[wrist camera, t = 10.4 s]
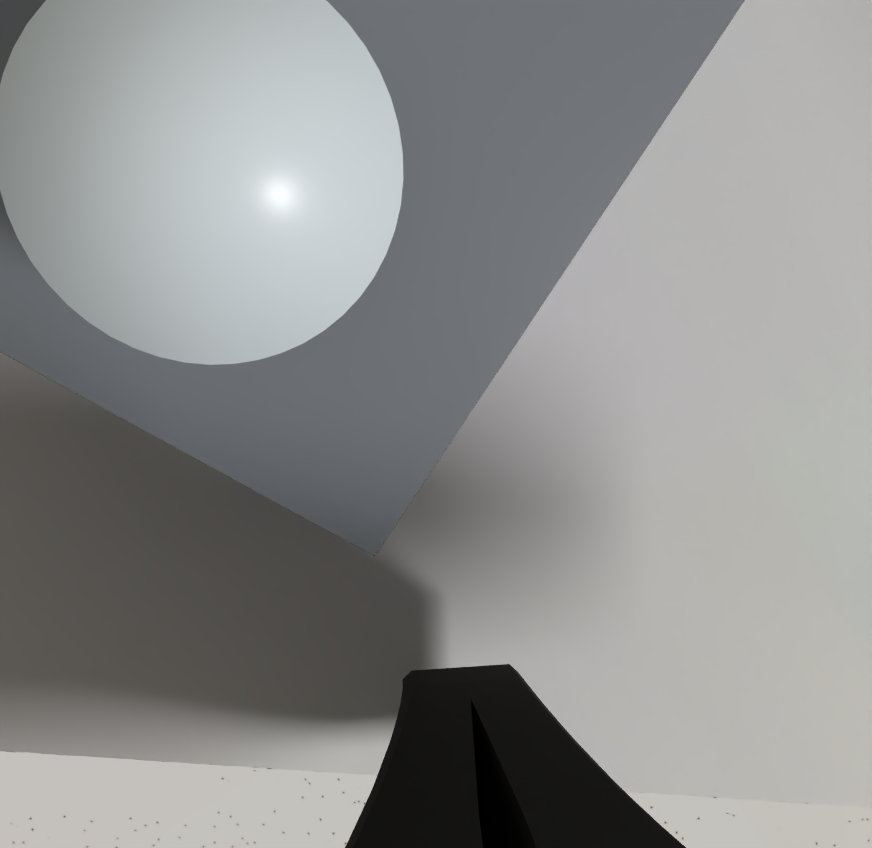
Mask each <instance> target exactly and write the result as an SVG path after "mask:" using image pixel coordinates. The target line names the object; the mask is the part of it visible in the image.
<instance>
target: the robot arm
mask: <svg viewBox="0 0 872 848" xmlns="http://www.w3.org/2000/svg"><path fill="white" fill-rule="evenodd" d="M345 848H686V847H685V846H684V845H682V844H681V843H680V842H679V841H678V840H677V839H675V838H674V837H673V836H672V835H671V834H670V833H669V832H668V831H666V830H665V829H664V828H663V827H662V826H661V825H660V824H659V823H657V822H656V821H655V820H654V819H653V818H652V817H651V816H650V815H649V814H648V813H647V812H646V811H645V810H644V809H642V808H641V807H640V806H639V805H638V804H637V803H636V802H635V801H634V800H633V799H632V798H631V797H630V796H629V795H628V794H627V793H626V792H625V791H624V790H623V789H622V788H620V787H619V786H618V785H617V784H616V783H615V782H614V781H613V780H612V779H611V778H610V777H609V776H608V775H607V773H606V772H605V771H604V770H603V769H602V768H601V767H600V766H599V765H598V764H597V763H596V762H595V761H594V760H593V759H592V758H591V757H590V756H589V755H588V753H587V752H586V751H585V750H584V749H583V748H582V747H581V746H580V745H579V744H578V743H577V742H576V741H575V740H574V739H573V737H572V736H571V735H570V734H569V733H568V732H567V731H566V730H565V728H564V727H563V726H562V725H561V724H560V723H559V722H558V720H557V719H556V718H555V717H554V716H553V715H552V713H551V712H550V711H549V710H548V709H547V708H546V706H545V705H544V704H543V703H542V702H541V700H540V699H539V698H538V697H537V695H536V694H535V693H534V692H533V691H532V689H531V688H530V687H529V686H528V684H527V683H526V682H525V681H524V679H523V678H522V677H521V675H520V674H519V673H518V672H517V671H516V670H515V669H514V668H513V667H512V666H511V665H510V664H506V665H491V666H475V667H460V668H445V669H430V670H415V671H411V672H410V673H409V674H408V675H407V676H406V677H405V678H404V679H403V691H402V698H401V704H400V708H399V712H398V716H397V720H396V724H395V727H394V730H393V734H392V737H391V740H390V743H389V746H388V749H387V751H386V754H385V757H384V760H383V762H382V765H381V768H380V770H379V773H378V776H377V778H376V781H375V784H374V786H373V788H372V791H371V793H370V795H369V798H368V800H367V802H366V804H365V806H364V808H363V811H362V813H361V815H360V817H359V819H358V821H357V824H356V826H355V828H354V830H353V832H352V834H351V836H350V839H349V841H348V843H347V845H346V847H345Z"/></svg>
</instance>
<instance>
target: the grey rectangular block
mask: <svg viewBox="0 0 872 848" xmlns="http://www.w3.org/2000/svg"><path fill="white" fill-rule="evenodd" d="M743 2H744V0H0V352H1V353H3V354H5V355H6V356H8V357H10V358H12V359H14V360H16V361H17V362H19V363H21V364H23V365H25V366H27V367H28V368H30V369H32V370H34V371H36V372H38V373H39V374H41V375H43V376H45V377H47V378H49V379H50V380H52V381H54V382H56V383H58V384H60V385H61V386H63V387H65V388H67V389H69V390H71V391H72V392H74V393H76V394H78V395H80V396H82V397H83V398H85V399H87V400H89V401H91V402H93V403H94V404H96V405H98V406H100V407H102V408H104V409H105V410H107V411H109V412H111V413H113V414H115V415H116V416H118V417H120V418H122V419H124V420H126V421H127V422H129V423H131V424H133V425H135V426H136V427H138V428H140V429H142V430H144V431H146V432H147V433H149V434H151V435H153V436H155V437H157V438H158V439H160V440H162V441H164V442H166V443H168V444H169V445H171V446H173V447H175V448H177V449H179V450H180V451H182V452H184V453H186V454H188V455H190V456H191V457H193V458H195V459H197V460H199V461H201V462H202V463H204V464H206V465H208V466H210V467H212V468H213V469H215V470H217V471H219V472H221V473H223V474H224V475H226V476H228V477H230V478H232V479H234V480H235V481H237V482H239V483H241V484H243V485H245V486H246V487H248V488H250V489H252V490H254V491H256V492H257V493H259V494H261V495H263V496H265V497H267V498H268V499H270V500H272V501H274V502H276V503H277V504H279V505H281V506H283V507H285V508H287V509H288V510H290V511H292V512H294V513H296V514H298V515H299V516H301V517H303V518H305V519H307V520H309V521H310V522H312V523H314V524H316V525H318V526H320V527H321V528H323V529H325V530H327V531H329V532H331V533H332V534H334V535H336V536H338V537H340V538H342V539H343V540H345V541H347V542H349V543H351V544H353V545H354V546H356V547H358V548H360V549H362V550H364V551H365V552H367V553H369V554H371V555H373V556H375V555H376V554H377V552H378V551H379V549H380V548H381V546H382V545H383V543H384V542H385V540H386V539H387V537H388V536H389V534H390V533H391V531H392V530H393V528H394V527H395V525H396V524H397V522H398V521H399V519H400V518H401V516H402V515H403V513H404V512H405V510H406V509H407V507H408V506H409V504H410V503H411V501H412V500H413V498H414V497H415V495H416V494H417V492H418V491H419V489H420V488H421V486H422V485H423V483H424V482H425V480H426V479H427V477H428V476H429V474H430V473H431V471H432V470H433V468H434V467H435V465H436V463H437V462H438V460H439V459H440V457H441V456H442V454H443V453H444V451H445V450H446V448H447V447H448V445H449V444H450V442H451V441H452V439H453V438H454V436H455V435H456V433H457V432H458V430H459V429H460V427H461V426H462V424H463V423H464V421H465V420H466V418H467V417H468V415H469V414H470V412H471V411H472V409H473V408H474V406H475V405H476V403H477V402H478V400H479V399H480V397H481V396H482V394H483V393H484V391H485V390H486V388H487V387H488V385H489V384H490V382H491V381H492V379H493V378H494V376H495V375H496V373H497V372H498V370H499V369H500V367H501V366H502V364H503V363H504V361H505V360H506V358H507V357H508V355H509V354H510V352H511V351H512V349H513V348H514V346H515V345H516V343H517V342H518V340H519V339H520V337H521V336H522V334H523V333H524V331H525V330H526V328H527V327H528V325H529V324H530V322H531V321H532V319H533V318H534V316H535V315H536V313H537V312H538V310H539V309H540V307H541V306H542V304H543V303H544V301H545V300H546V298H547V297H548V295H549V294H550V292H551V291H552V289H553V288H554V286H555V285H556V283H557V282H558V280H559V279H560V277H561V276H562V274H563V273H564V271H565V270H566V268H567V267H568V265H569V264H570V262H571V261H572V259H573V258H574V256H575V255H576V253H577V252H578V250H579V249H580V247H581V246H582V244H583V243H584V241H585V240H586V238H587V236H588V235H589V233H590V232H591V230H592V229H593V227H594V226H595V224H596V223H597V221H598V220H599V218H600V217H601V215H602V214H603V212H604V211H605V209H606V208H607V206H608V205H609V203H610V202H611V200H612V199H613V197H614V196H615V194H616V193H617V191H618V190H619V188H620V187H621V185H622V184H623V182H624V181H625V179H626V178H627V176H628V175H629V173H630V172H631V170H632V169H633V167H634V166H635V164H636V163H637V161H638V160H639V158H640V157H641V155H642V154H643V152H644V151H645V149H646V148H647V146H648V145H649V143H650V142H651V140H652V139H653V137H654V136H655V134H656V133H657V131H658V130H659V128H660V127H661V125H662V124H663V122H664V121H665V119H666V118H667V116H668V115H669V113H670V112H671V110H672V109H673V107H674V106H675V104H676V103H677V101H678V100H679V98H680V97H681V95H682V94H683V92H684V91H685V89H686V88H687V86H688V85H689V83H690V82H691V80H692V79H693V77H694V76H695V74H696V73H697V71H698V70H699V68H700V67H701V65H702V64H703V62H704V61H705V59H706V58H707V56H708V55H709V53H710V52H711V50H712V49H713V47H714V46H715V44H716V43H717V41H718V40H719V38H720V37H721V35H722V34H723V32H724V31H725V29H726V28H727V26H728V25H729V23H730V22H731V20H732V19H733V17H734V16H735V14H736V12H737V11H738V9H739V8H740V6H741V5H742V3H743Z"/></svg>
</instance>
